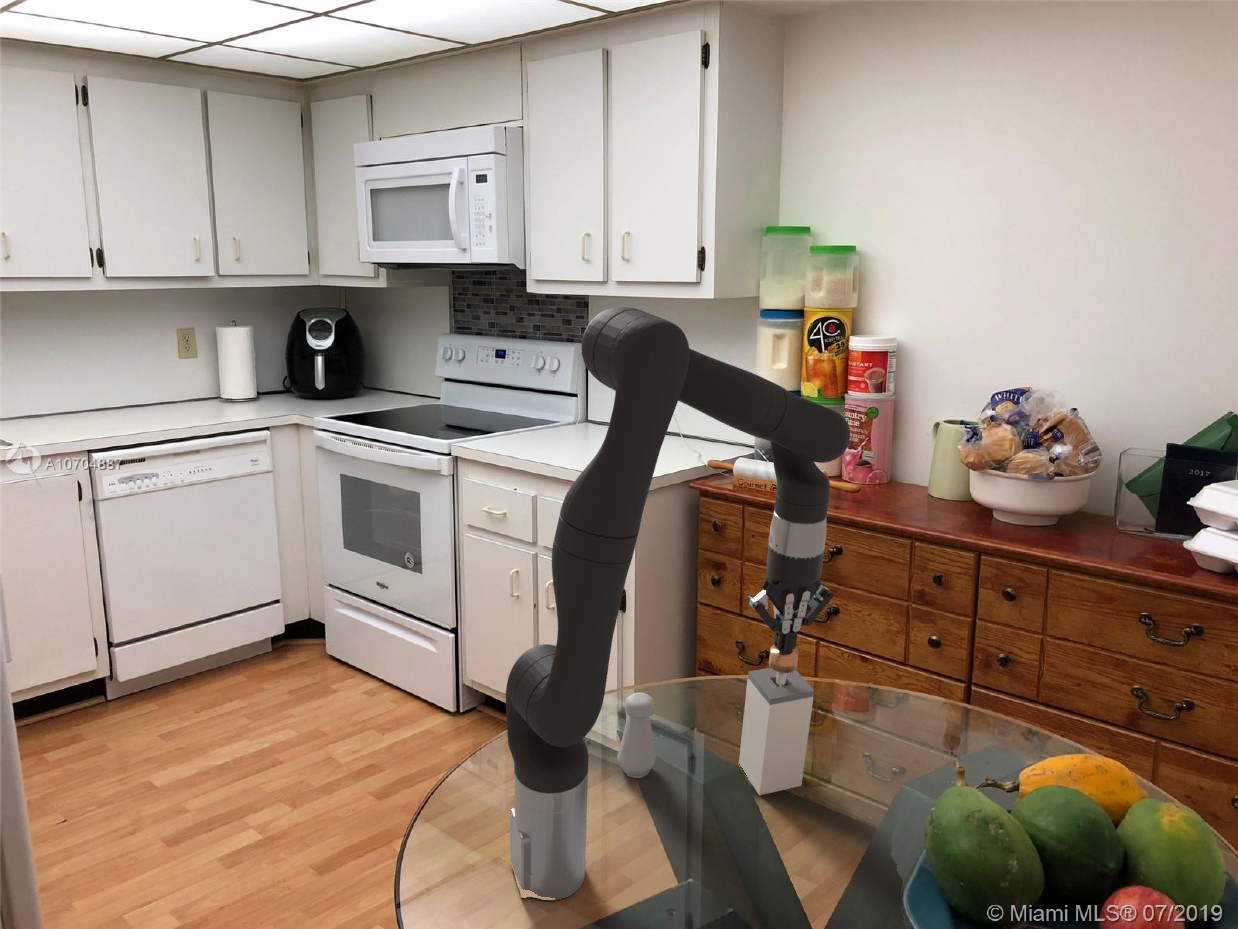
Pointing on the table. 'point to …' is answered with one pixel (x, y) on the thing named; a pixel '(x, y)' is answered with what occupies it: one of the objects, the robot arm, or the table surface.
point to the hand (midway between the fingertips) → (784, 651)
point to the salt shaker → (637, 736)
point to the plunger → (782, 664)
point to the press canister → (775, 730)
